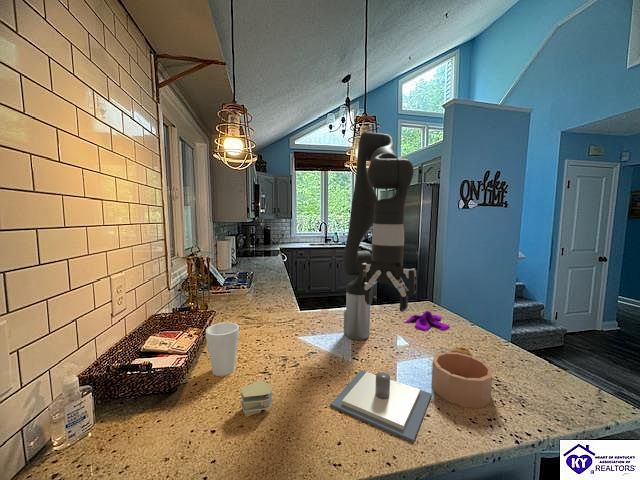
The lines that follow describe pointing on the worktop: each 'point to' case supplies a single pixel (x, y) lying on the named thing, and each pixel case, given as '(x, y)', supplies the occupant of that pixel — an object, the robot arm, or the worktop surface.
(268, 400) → the pale green layered block
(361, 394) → the cover
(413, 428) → the mat
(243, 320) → the worktop surface
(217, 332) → the foam cup
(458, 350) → the pastry
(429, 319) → the cloth
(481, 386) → the bowl
